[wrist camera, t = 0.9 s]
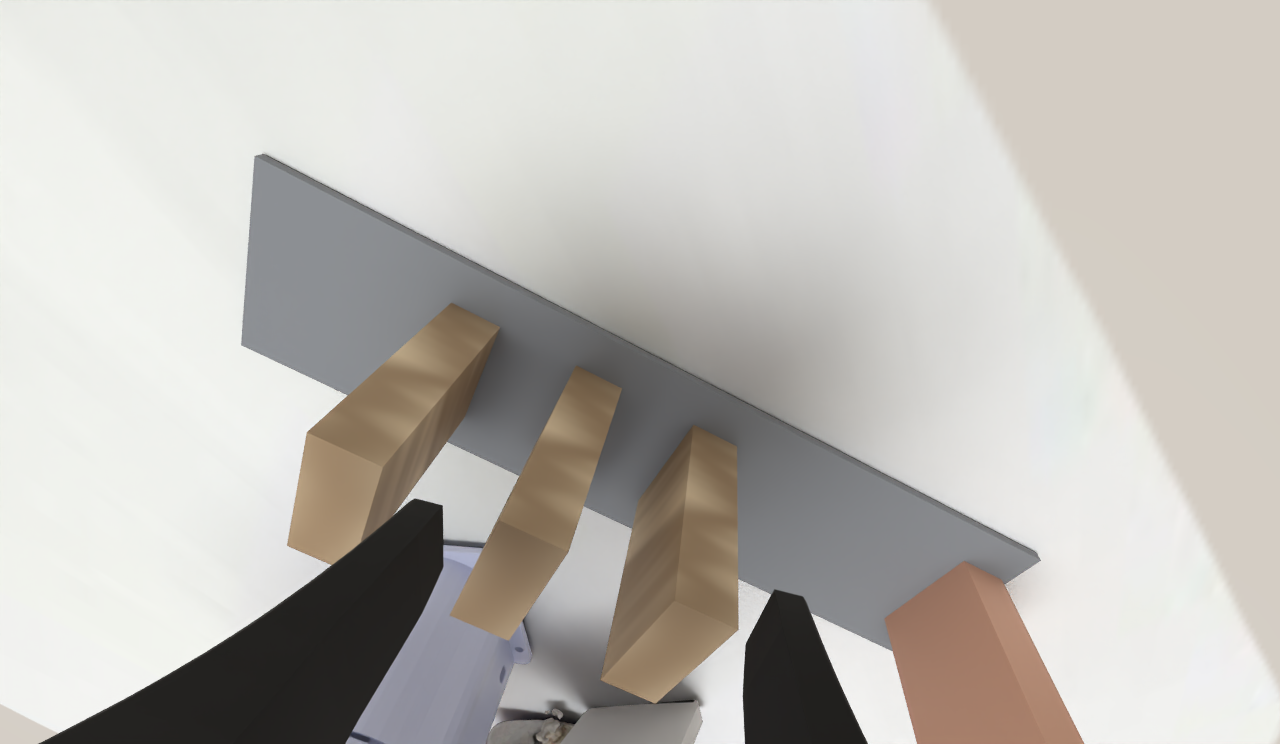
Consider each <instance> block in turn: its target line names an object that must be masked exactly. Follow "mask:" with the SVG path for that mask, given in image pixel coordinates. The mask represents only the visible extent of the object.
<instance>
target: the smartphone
mask: <svg viewBox="0 0 1280 744" xmlns="http://www.w3.org/2000/svg"><path fill="white" fill-rule="evenodd" d="M702 722H703V720H702V716H701V712H700V708H699V704H698V701H697V700H685V701H673V702H660V703H656V704H654V703H648V704H635V705H623V706H610V707H598V708H591V709H589V710H588V711H586V712H585V713H584V714H583V715H582V716H581V717H580V719H579V720H578V721H577V723H576V724H575V725H574V726H573V728H572V729H571V730H570V731H569V733H568V734H567V735H566V737H565V738H564V739H563V740H562V742H561V743H560V744H694V742H695V740H696V737H697V735H698V732H699V730H700V727H701V725H702Z"/></svg>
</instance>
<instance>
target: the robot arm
mask: <svg viewBox="0 0 1280 744" xmlns="http://www.w3.org/2000/svg"><path fill="white" fill-rule="evenodd" d="M482 550H483V548H473V547H461V546H449V545H443V506H442V505H438V504H434V503H431V502H427V501H423V500H419V499H414V500H412V501H410V502H409V503H408V504H406V505H405V506H404V507H403V508H402V509H401V510H399V511H398V512H397V513H396V514H395V515H393V516H392V517H391V518H390V519H389V520H388V521H386V522H385V523H384V524H383V525H382V526H380V527H379V528H378V529H377V530H376V531H374V532H373V533H372V534H371V535H369V536H368V537H367V538H366V539H365V540H363V541H362V542H361V543H360V544H358V545H357V546H356V547H355V548H353V549H352V550H351V551H350V552H348V553H347V554H346V555H344V556H343V557H342V558H341V559H339V560H338V561H337V562H335V563H334V564H333V565H331V566H330V567H329V568H328V569H326V570H325V571H324V572H322V573H321V574H320V575H319V576H317V577H316V578H315V579H313V580H312V581H310V582H309V583H308V584H306V585H305V586H304V587H302V588H301V589H299V590H298V591H297V592H295V593H294V594H292V595H291V596H290V597H288V598H287V599H285V600H284V601H283V602H281V603H280V604H278V605H277V606H276V607H274V608H273V609H271V610H270V611H268V612H267V613H266V614H264V615H263V616H261V617H260V618H258V619H257V620H255V621H254V622H252V623H251V624H249V625H248V626H246V627H245V628H243V629H242V630H240V631H238V632H237V633H235V634H234V635H232V636H231V637H229V638H228V639H226V640H224V641H223V642H221V643H220V644H218V645H216V646H215V647H213V648H212V649H210V650H208V651H207V652H205V653H204V654H202V655H200V656H199V657H197V658H195V659H194V660H192V661H190V662H188V663H187V664H185V665H183V666H182V667H180V668H178V669H177V670H175V671H173V672H171V673H170V674H168V675H166V676H165V677H163V678H161V679H160V680H158V681H156V682H154V683H153V684H151V685H149V686H147V687H145V688H144V689H142V690H140V691H138V692H137V693H135V694H133V695H131V696H129V697H127V698H126V699H124V700H122V701H120V702H118V703H116V704H114V705H112V706H111V707H109V708H107V709H105V710H103V711H101V712H99V713H97V714H95V715H93V716H91V717H89V718H87V719H86V720H84V721H82V722H80V723H78V724H76V725H74V726H72V727H70V728H68V729H66V730H64V731H62V732H61V733H59V734H57V735H55V736H53V737H51V738H49V739H47V740H45V741H43V742H41V743H39V744H485V743H486V740H487V737H488V734H489V731H490V729H491V726H492V723H493V720H494V717H495V715H496V712H497V709H498V706H499V704H500V701H501V698H502V695H503V692H504V690H505V687H506V684H507V681H508V678H509V676H510V673H511V670H512V667H513V664H514V663H518V664H528V663H530V661H531V658H532V653H531V649H530V646H529V642H528V638H527V635H526V631H525V628H524V624H523V620H522V622H521V623H520V625H519V626H518V628H517V629H516V631H515V632H514V634H513V635H512V637H511V638H510V640H509V641H508V640H505V639H503V638H501V637H498V636H496V635H494V634H491V633H489V632H487V631H485V630H482V629H480V628H478V627H475V626H473V625H471V624H468V623H466V622H464V621H461V620H459V619H457V618H454V617H452V616H450V613H451V611H452V609H453V607H454V605H455V603H456V601H457V599H458V597H459V595H460V593H461V591H462V589H463V587H464V585H465V583H466V581H467V579H468V578H469V576H470V574H471V572H472V570H473V568H474V566H475V564H476V562H477V560H478V558H479V556H480V554H481V552H482ZM743 710H744V731H745V744H868V743H867V741H866V739H865V737H864V735H863V733H862V731H861V728H860V726H859V724H858V722H857V720H856V718H855V716H854V713H853V711H852V709H851V707H850V705H849V703H848V700H847V698H846V696H845V694H844V692H843V690H842V687H841V685H840V683H839V681H838V678H837V676H836V674H835V671H834V669H833V667H832V664H831V662H830V660H829V657H828V655H827V652H826V650H825V648H824V645H823V643H822V640H821V638H820V635H819V633H818V630H817V628H816V625H815V623H814V620H813V618H812V615H811V613H810V610H809V607H808V605H807V602H806V600H805V599H804V597H803V596H800V595H796V594H792V593H788V592H784V591H780V590H776V589H774V591H773V593H772V595H771V597H770V598H769V600H768V602H767V604H766V606H765V608H764V610H763V612H762V614H761V616H760V618H759V620H758V622H757V623H756V625H755V627H754V629H753V631H752V633H751V635H750V637H749V639H748V641H747V643H746V648H745V664H744V683H743Z"/></svg>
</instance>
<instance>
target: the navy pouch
mask: <svg viewBox="0 0 1280 744" xmlns="http://www.w3.org/2000/svg"><path fill="white" fill-rule="evenodd" d="M549 712H550V711H549V710H548V711H545V714H549ZM552 714H553V716H557V717H558V718H559V719H561V718H562V717H563V713H562V712H561V711H560V710H558V709H553V710H552ZM574 725H575V724H571V723H566V722H559V721H558V720H554V718H549V719H546V720H513V721H504V722H500V723H498V724H497V725H496V726H494V727H493V728H492V729H491V731H490V732H489V734H488V737H487V740H486V743H485V744H560V743H561V742H562V740H563V739H564V738H565V737H566V735H567V734H568V733H569V731H570V730H571V729H572V728H573V726H574Z"/></svg>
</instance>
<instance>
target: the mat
mask: <svg viewBox="0 0 1280 744" xmlns="http://www.w3.org/2000/svg"><path fill="white" fill-rule="evenodd" d="M450 303H453V304H455V305H457V306H459V307H461V308H463V309H465V310H467V311H469V312H471V313H473V314H475V315H477V316H479V317H481V318H483V319H485V320H487V321H489V322H491V323H493V324H495V325H497V326H499V327H500V329H499V331H498V334H497V337H496V339H495V342H494V344H493V347H492V349H491V352H490V354H489V357H488V359H487V362H486V364H485V367H484V369H483V372H482V375H481V377H480V380H479V382H478V385H477V387H476V390H475V392H474V395H473V397H472V400H471V402H470V405H469V407H468V410H467V412H466V415H465V418H464V419H463V420H462V422H461V423H460V425H459V426H458V427H457V429H456V430H455V431H454V433H453V434H452V435H451V437H450V438H449V440H448V441H447V442H449V443H451V444H453V445H455V446H457V447H459V448H461V449H463V450H466V451H468V452H470V453H472V454H474V455H476V456H478V457H480V458H483V459H485V460H487V461H489V462H491V463H493V464H495V465H498V466H500V467H502V468H504V469H506V470H508V471H510V472H512V473H515V474H517V475H519V476H520V474H521V472H522V470H523V468H524V466H525V464H526V462H527V460H528V458H529V456H530V454H531V452H532V450H533V448H534V446H535V444H536V442H537V440H538V438H539V436H540V434H541V432H542V431H543V429H544V427H545V425H546V423H547V421H548V419H549V417H550V415H551V413H552V411H553V409H554V407H555V405H556V403H557V401H558V399H559V398H560V396H561V394H562V392H563V390H564V388H565V386H566V384H567V382H568V380H569V378H570V376H571V374H572V372H573V370H574V368H575V366H578V367H580V368H582V369H584V370H586V371H588V372H590V373H592V374H594V375H596V376H598V377H600V378H602V379H604V380H606V381H608V382H610V383H612V384H614V385H616V386H618V387H620V388H622V390H621V393H620V397H619V400H618V403H617V406H616V409H615V412H614V415H613V418H612V421H611V424H610V427H609V430H608V433H607V436H606V439H605V442H604V445H603V448H602V451H601V454H600V457H599V460H598V463H597V466H596V469H595V472H594V476H593V479H592V482H591V485H590V488H589V491H588V494H587V497H586V500H585V503H584V506H585V507H587V508H589V509H591V510H593V511H595V512H597V513H600V514H602V515H604V516H606V517H608V518H610V519H612V520H614V521H617V522H619V523H621V524H623V525H625V526H627V527H629V528H633V523H634V518H635V514H636V509H637V504H638V500H639V499H640V498H641V496H642V495H643V494H644V492H645V491H646V489H647V488H648V487H649V485H650V484H651V483H652V481H653V480H654V478H655V477H656V476H657V474H658V473H659V472H660V470H661V469H662V467H663V466H664V465H665V463H666V462H667V461H668V459H669V458H670V456H671V455H672V454H673V452H674V451H675V450H676V448H677V447H678V445H679V444H680V443H681V441H682V440H683V439H684V437H685V436H686V434H687V433H688V432H689V430H690V429H691V428H692V426H693V425H695V426H697V427H699V428H701V429H703V430H705V431H707V432H709V433H711V434H713V435H715V436H717V437H719V438H721V439H723V440H725V441H727V442H729V443H731V444H733V445H735V446H737V505H738V579H740V580H742V581H744V582H746V583H748V584H751V585H753V586H755V587H757V588H759V589H761V590H763V591H766V592H768V593H770V594H772V593H773V591H774V589H776V590H780V591H784V592H788V593H792V594H796V595H800V596H803V597H804V599H805V600H806V602H807V605H808V607H809V610H810V613H812V614H814V615H817V616H819V617H821V618H823V619H825V620H827V621H829V622H831V623H834V624H836V625H838V626H840V627H842V628H844V629H846V630H848V631H851V632H853V633H855V634H857V635H859V636H861V637H863V638H865V639H868V640H870V641H872V642H874V643H876V644H878V645H880V646H882V647H885V648H887V649H889V650H891V651H893V650H892V646H891V642H890V638H889V635H888V631H887V627H886V623H885V619H884V618H886V617H887V616H888V615H890V614H891V613H892V612H894V611H895V610H897V609H898V608H899V607H901V606H902V605H903V604H905V603H906V602H908V601H909V600H910V599H912V598H913V597H915V596H916V595H917V594H919V593H920V592H921V591H923V590H924V589H926V588H927V587H928V586H930V585H931V584H933V583H934V582H935V581H937V580H938V579H939V578H941V577H942V576H944V575H945V574H946V573H948V572H949V571H951V570H952V569H953V568H955V567H956V566H957V565H959V564H960V563H962V562H963V561H965V562H967V563H969V564H971V565H973V566H975V567H977V568H979V569H981V570H983V571H985V572H987V573H989V574H991V575H993V576H995V577H997V578H999V579H1001V580H1002V581H1003V583H1004V584H1006V583H1007V582H1009V581H1010V580H1012V579H1013V578H1015V577H1016V576H1018V575H1020V574H1021V573H1023V572H1024V571H1026V570H1027V569H1029V568H1030V567H1032V566H1033V565H1035V564H1036V563H1038V562H1039V561H1041V560H1040V558H1039V556H1038V555H1037V553H1036V552H1034V551H1032V550H1030V549H1028V548H1026V547H1024V546H1022V545H1020V544H1018V543H1016V542H1015V541H1013V540H1011V539H1009V538H1007V537H1005V536H1003V535H1001V534H999V533H997V532H995V531H993V530H991V529H989V528H987V527H985V526H984V525H982V524H980V523H978V522H976V521H974V520H972V519H970V518H968V517H966V516H964V515H962V514H960V513H958V512H956V511H954V510H953V509H951V508H949V507H947V506H945V505H943V504H941V503H939V502H937V501H935V500H933V499H931V498H929V497H927V496H925V495H923V494H921V493H920V492H918V491H916V490H914V489H912V488H910V487H908V486H906V485H904V484H902V483H900V482H898V481H896V480H894V479H892V478H890V477H889V476H887V475H885V474H883V473H881V472H879V471H877V470H875V469H873V468H871V467H869V466H867V465H865V464H863V463H861V462H859V461H858V460H856V459H854V458H852V457H850V456H848V455H846V454H844V453H842V452H840V451H838V450H836V449H834V448H832V447H830V446H828V445H827V444H825V443H823V442H821V441H819V440H817V439H815V438H813V437H811V436H809V435H807V434H805V433H803V432H801V431H799V430H797V429H795V428H794V427H792V426H790V425H788V424H786V423H784V422H782V421H780V420H778V419H776V418H774V417H772V416H770V415H768V414H766V413H764V412H763V411H761V410H759V409H757V408H755V407H753V406H751V405H749V404H747V403H745V402H743V401H741V400H739V399H737V398H735V397H733V396H732V395H730V394H728V393H726V392H724V391H722V390H720V389H718V388H716V387H714V386H712V385H710V384H708V383H706V382H704V381H702V380H700V379H699V378H697V377H695V376H693V375H691V374H689V373H687V372H685V371H683V370H681V369H679V368H677V367H675V366H673V365H671V364H669V363H668V362H666V361H664V360H662V359H660V358H658V357H656V356H654V355H652V354H650V353H648V352H646V351H644V350H642V349H640V348H638V347H637V346H635V345H633V344H631V343H629V342H627V341H625V340H623V339H621V338H619V337H617V336H615V335H613V334H611V333H609V332H607V331H606V330H604V329H602V328H600V327H598V326H596V325H594V324H592V323H590V322H588V321H586V320H584V319H582V318H580V317H578V316H576V315H574V314H573V313H571V312H569V311H567V310H565V309H563V308H561V307H559V306H557V305H555V304H553V303H551V302H549V301H547V300H545V299H543V298H542V297H540V296H538V295H536V294H534V293H532V292H530V291H528V290H526V289H524V288H522V287H520V286H518V285H516V284H514V283H512V282H511V281H509V280H507V279H505V278H503V277H501V276H499V275H497V274H495V273H493V272H491V271H489V270H487V269H485V268H483V267H481V266H479V265H478V264H476V263H474V262H472V261H470V260H468V259H466V258H464V257H462V256H460V255H458V254H456V253H454V252H452V251H450V250H448V249H447V248H445V247H443V246H441V245H439V244H437V243H435V242H433V241H431V240H429V239H427V238H425V237H423V236H421V235H419V234H417V233H416V232H414V231H412V230H410V229H408V228H406V227H404V226H402V225H400V224H398V223H396V222H394V221H392V220H390V219H388V218H386V217H385V216H383V215H381V214H379V213H377V212H375V211H373V210H371V209H369V208H367V207H365V206H363V205H361V204H359V203H357V202H355V201H353V200H352V199H350V198H348V197H346V196H344V195H342V194H340V193H338V192H336V191H334V190H332V189H330V188H328V187H326V186H324V185H322V184H321V183H319V182H317V181H315V180H313V179H311V178H309V177H307V176H305V175H303V174H301V173H299V172H297V171H295V170H293V169H291V168H290V167H288V166H286V165H284V164H282V163H280V162H278V161H276V160H274V159H272V158H270V157H268V156H266V155H264V154H262V155H257V156H255V159H254V173H253V187H252V201H251V215H250V229H249V243H248V257H247V271H246V285H245V300H244V314H243V328H242V342H241V345H242V346H244V347H247V348H249V349H251V350H253V351H255V352H257V353H259V354H261V355H264V356H266V357H268V358H270V359H272V360H274V361H276V362H278V363H281V364H283V365H285V366H287V367H289V368H291V369H293V370H295V371H298V372H300V373H302V374H304V375H306V376H308V377H310V378H312V379H315V380H317V381H319V382H321V383H323V384H325V385H327V386H329V387H332V388H334V389H336V390H338V391H340V392H342V393H344V394H346V395H349V394H350V393H351V392H352V391H354V390H355V389H356V388H357V387H358V386H359V385H360V384H361V383H362V382H364V381H365V380H366V379H367V378H368V377H369V376H370V375H371V374H372V373H374V372H375V371H376V370H377V369H378V368H379V367H380V366H381V365H382V364H384V363H385V362H386V361H387V360H388V359H389V358H390V357H391V356H392V355H394V354H395V353H396V352H397V351H398V350H399V349H400V348H401V347H402V346H404V345H405V344H406V343H407V342H408V341H409V340H410V339H411V338H412V337H414V336H415V335H416V334H417V333H418V332H419V331H420V330H421V329H422V328H424V327H425V326H426V325H427V324H428V323H429V322H430V321H431V320H432V319H434V318H435V317H436V316H437V315H438V314H439V313H440V312H441V311H442V310H444V309H445V308H446V307H447V306H448V305H449V304H450Z"/></svg>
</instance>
